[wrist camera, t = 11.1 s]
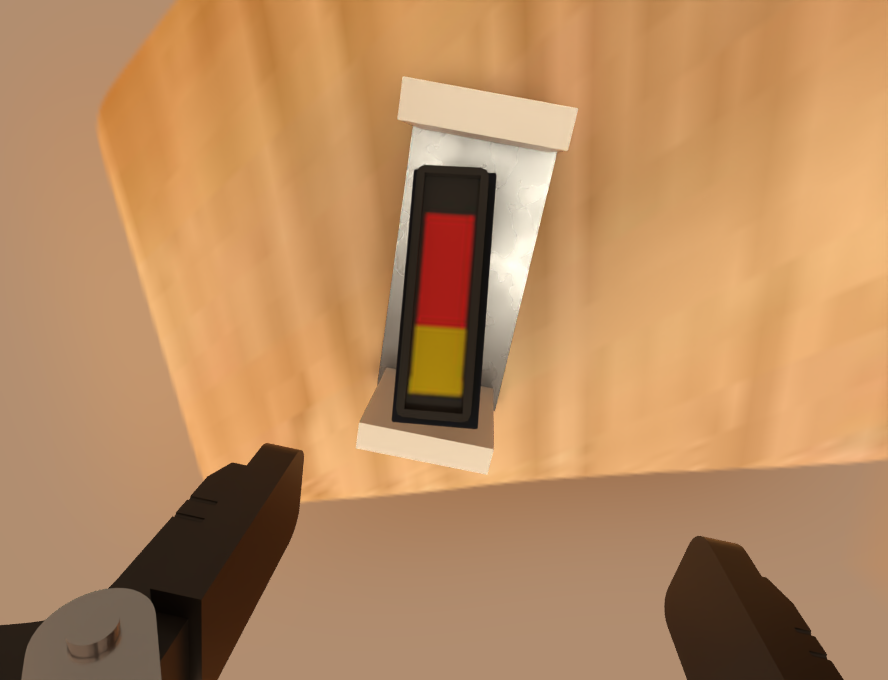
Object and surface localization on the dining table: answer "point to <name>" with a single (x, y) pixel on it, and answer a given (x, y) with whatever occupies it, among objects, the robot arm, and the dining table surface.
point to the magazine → (445, 297)
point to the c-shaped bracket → (481, 121)
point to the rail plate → (512, 236)
